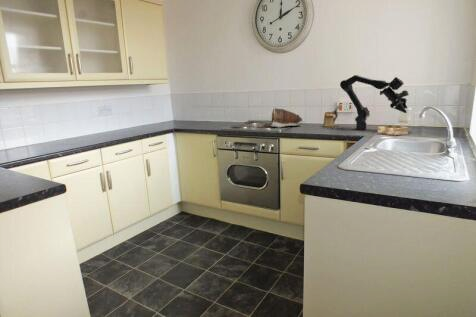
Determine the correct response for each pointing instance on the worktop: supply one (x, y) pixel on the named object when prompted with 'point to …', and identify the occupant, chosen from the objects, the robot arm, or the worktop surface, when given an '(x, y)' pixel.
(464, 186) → the worktop surface
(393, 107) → the robot arm
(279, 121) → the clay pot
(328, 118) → the wooden mug
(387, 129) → the pine crate
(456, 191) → the worktop surface
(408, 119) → the white crate
